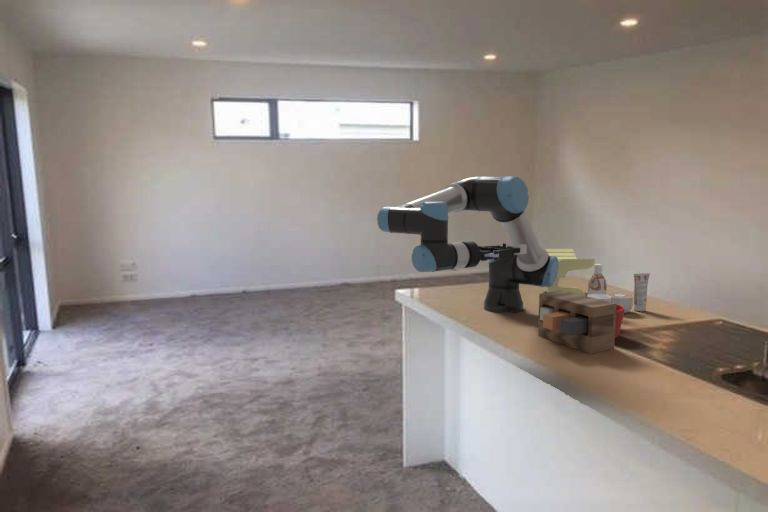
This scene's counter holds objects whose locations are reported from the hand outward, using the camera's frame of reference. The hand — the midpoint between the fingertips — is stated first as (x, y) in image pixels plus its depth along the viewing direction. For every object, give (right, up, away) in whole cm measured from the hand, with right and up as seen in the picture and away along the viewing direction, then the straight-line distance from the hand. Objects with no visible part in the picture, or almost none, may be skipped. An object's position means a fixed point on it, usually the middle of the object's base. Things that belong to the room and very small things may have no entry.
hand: (524, 248), depth 180 cm
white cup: (+32, -26, +26) cm, 49 cm away
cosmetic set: (+46, -24, +43) cm, 67 cm away
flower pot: (+29, -28, +13) cm, 43 cm away
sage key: (+13, -23, +10) cm, 28 cm away
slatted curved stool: (+34, -19, +74) cm, 83 cm away
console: (+17, -29, +6) cm, 34 cm away
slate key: (+15, -25, -4) cm, 29 cm away
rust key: (+11, -24, +2) cm, 26 cm away
